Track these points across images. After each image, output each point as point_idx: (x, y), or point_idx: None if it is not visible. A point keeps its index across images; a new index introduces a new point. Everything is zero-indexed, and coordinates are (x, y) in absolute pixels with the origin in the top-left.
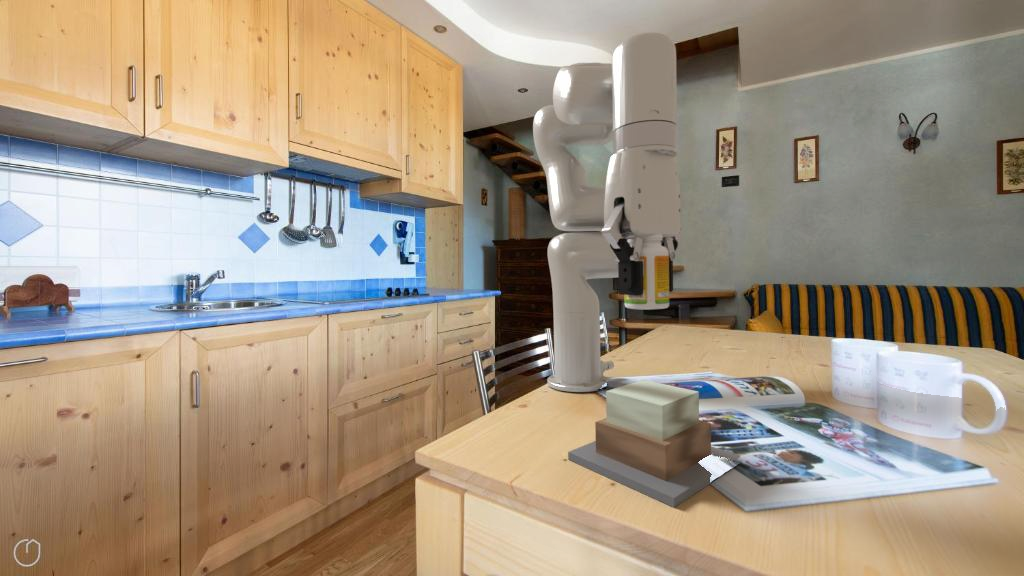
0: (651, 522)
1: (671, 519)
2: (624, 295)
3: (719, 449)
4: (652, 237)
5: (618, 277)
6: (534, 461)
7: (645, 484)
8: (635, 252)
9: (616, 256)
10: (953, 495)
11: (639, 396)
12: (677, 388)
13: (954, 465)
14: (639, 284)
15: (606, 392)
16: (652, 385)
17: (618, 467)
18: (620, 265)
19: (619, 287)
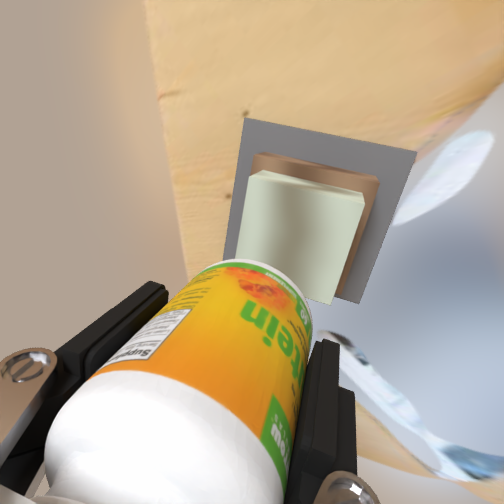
0: (194, 250)
1: (208, 262)
2: (194, 279)
3: (366, 281)
4: None
5: (115, 306)
6: (216, 80)
7: (228, 234)
8: (26, 452)
9: (5, 368)
10: (385, 439)
11: (253, 235)
12: (332, 274)
13: (469, 465)
14: None
15: (249, 177)
16: (329, 232)
17: (245, 195)
18: (56, 353)
19: (138, 291)
